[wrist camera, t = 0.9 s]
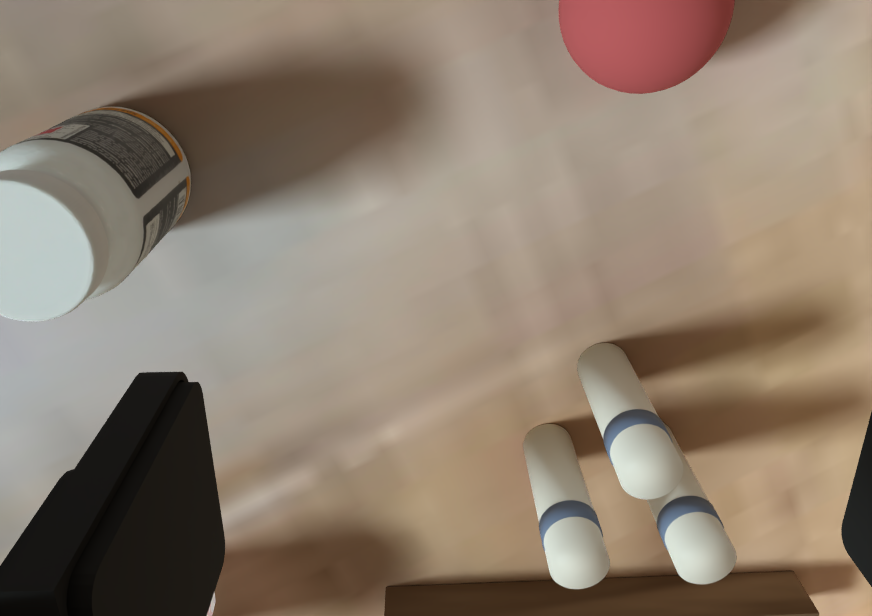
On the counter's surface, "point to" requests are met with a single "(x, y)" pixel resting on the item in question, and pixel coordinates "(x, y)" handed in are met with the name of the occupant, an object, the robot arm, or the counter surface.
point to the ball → (643, 39)
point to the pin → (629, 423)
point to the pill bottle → (84, 208)
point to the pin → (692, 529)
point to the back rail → (610, 598)
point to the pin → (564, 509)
